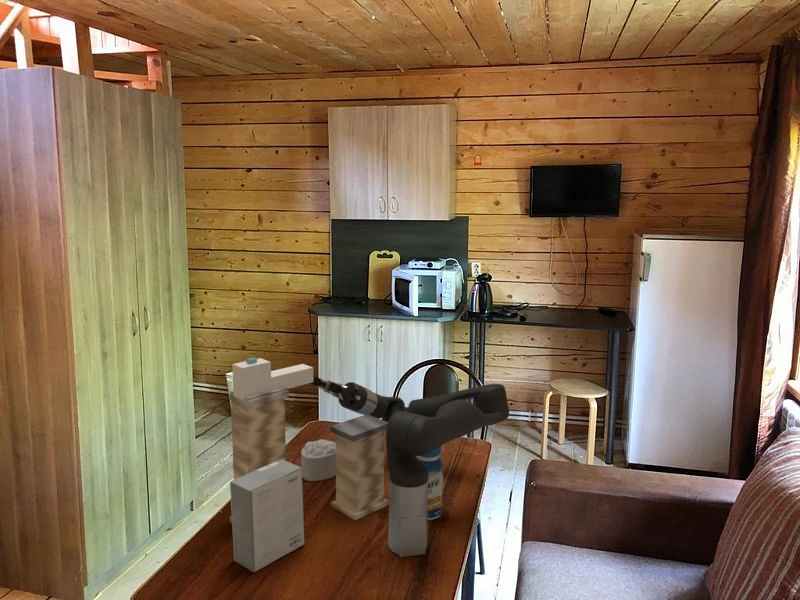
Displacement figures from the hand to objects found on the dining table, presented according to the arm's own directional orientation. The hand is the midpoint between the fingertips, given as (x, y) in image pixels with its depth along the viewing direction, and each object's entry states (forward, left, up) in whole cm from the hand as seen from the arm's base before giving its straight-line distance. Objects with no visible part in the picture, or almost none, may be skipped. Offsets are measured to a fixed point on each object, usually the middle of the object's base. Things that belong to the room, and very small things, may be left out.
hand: (319, 382), depth 178 cm
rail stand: (-10, +16, -32) cm, 38 cm away
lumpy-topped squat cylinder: (+14, -2, -33) cm, 35 cm away
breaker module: (-8, +12, +2) cm, 15 cm away
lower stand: (-9, -9, -32) cm, 35 cm away
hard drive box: (-27, +16, -33) cm, 45 cm away
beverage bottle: (-17, -26, -33) cm, 45 cm away
